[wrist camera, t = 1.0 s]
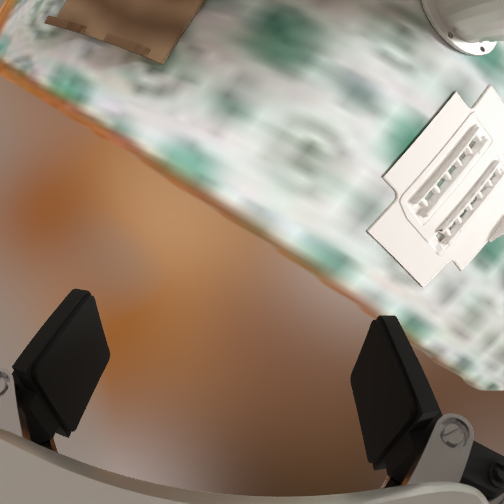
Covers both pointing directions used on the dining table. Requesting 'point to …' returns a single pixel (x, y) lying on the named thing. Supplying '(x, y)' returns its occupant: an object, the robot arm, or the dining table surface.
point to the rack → (131, 23)
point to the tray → (447, 189)
